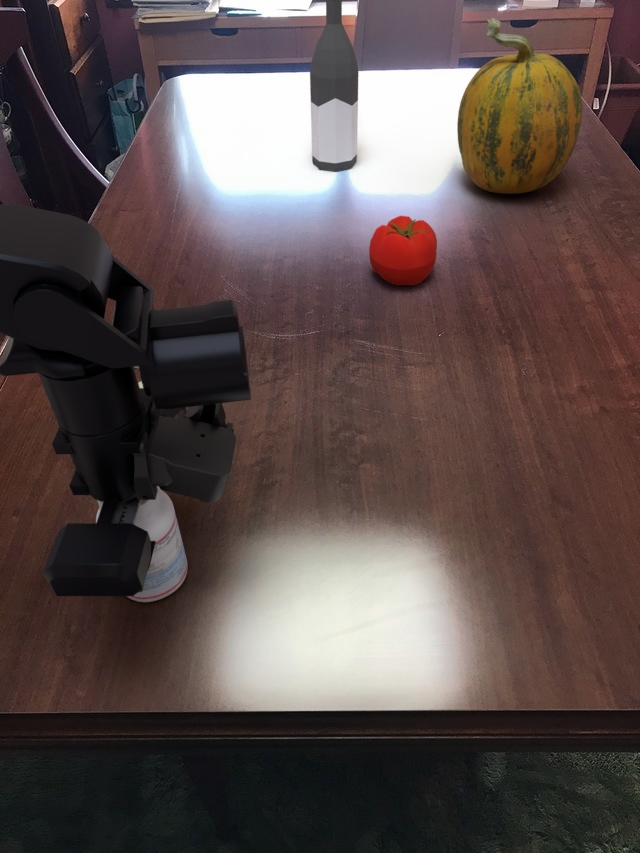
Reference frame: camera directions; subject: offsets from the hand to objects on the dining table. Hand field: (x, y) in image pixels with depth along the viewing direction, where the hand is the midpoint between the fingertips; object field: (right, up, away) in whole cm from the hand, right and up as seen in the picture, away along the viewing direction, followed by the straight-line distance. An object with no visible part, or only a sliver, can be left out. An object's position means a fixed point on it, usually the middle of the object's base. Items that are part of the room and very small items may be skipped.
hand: (147, 549), depth 57 cm
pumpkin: (+46, +51, +59) cm, 91 cm away
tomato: (+26, +31, +38) cm, 56 cm away
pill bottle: (0, -3, +3) cm, 4 cm away
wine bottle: (+17, +58, +68) cm, 91 cm away
